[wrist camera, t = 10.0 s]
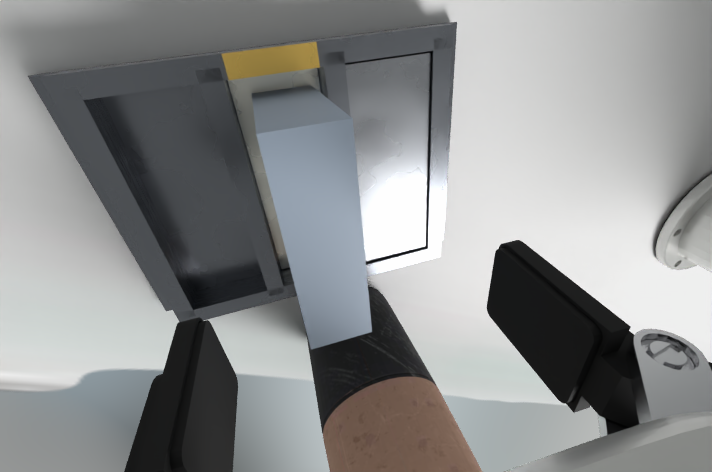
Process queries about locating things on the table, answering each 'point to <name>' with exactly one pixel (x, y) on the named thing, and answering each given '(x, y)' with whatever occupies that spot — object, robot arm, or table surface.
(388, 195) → the rack
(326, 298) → the panel
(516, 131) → the table surface
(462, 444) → the travel mug
